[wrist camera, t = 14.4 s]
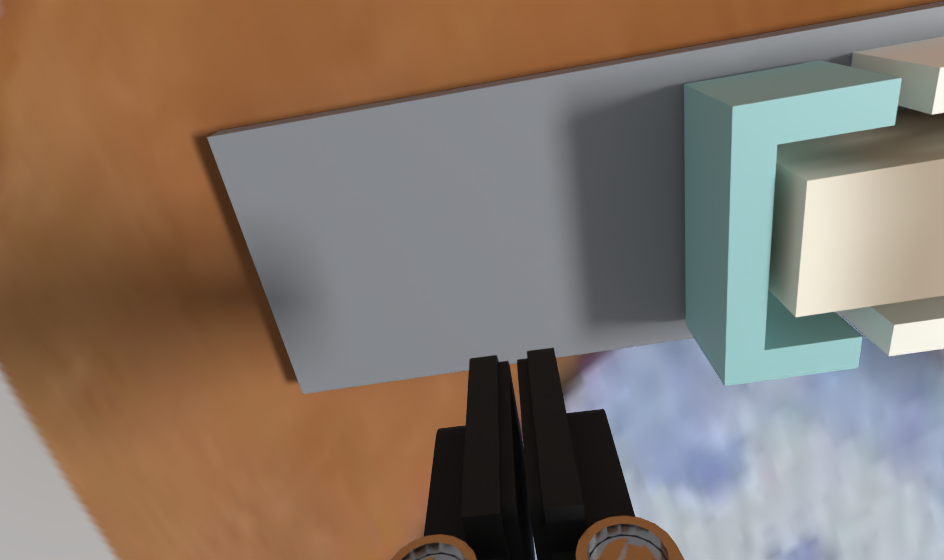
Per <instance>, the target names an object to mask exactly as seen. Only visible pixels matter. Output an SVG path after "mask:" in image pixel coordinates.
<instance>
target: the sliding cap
mask: <svg viewBox="0 0 944 560" xmlns="http://www.w3.org/2000/svg"><path fill="white" fill-rule="evenodd" d="M901 81H902V78H901V77H896V76H892V75H887V74H882V73H878V72H873V71H868V70H864V69H859V68H854V67H850V66H845V65H840V64H836V63H831V62H826V61H822V60H820V61H814V62H808V63H802V64H797V65H791V66H785V67H779V68H774V69H768V70H762V71H756V72H751V73H745V74H739V75H734V76H728V77H722V78H716V79H711V80H705V81H699V82H693V83H688V84H684V155H685V280H686V326H687V328H688V329H689V331H690V332H691V334H692V335H693V337H694V339H695V340H696V342H697V343H698V345H699V346H700V348H701V350H702V351H703V353H704V354H705V356H706V357H707V359H708V361H709V362H710V364H711V365H712V367H713V368H714V370H715V372H716V373H717V375H718V376H719V378H720V379H721V381H722V383H723V384H724V386H729V385H736V384H744V383H751V382H758V381H766V380H773V379H780V378H788V377H795V376H802V375H810V374H817V373H824V372H832V371H839V370H846V369H854V368H858V364H859V358H860V351H861V345H862V338H863V336H862V335H860V334H859V333H858V332H857V331H856V330H855V329H854V328H853V327H852V326H850V325H849V324H848V323H847V322H846V321H845V320H844V319H843V318H841V317H840V316H839V315H838V314H837V313H836V312H828V313H822V314H815V315H808V316H801V317H795V316H794V315H793V314H792V313H791V312H790V311H789V310H788V309H787V308H786V307H785V306H784V305H783V304H782V303H781V302H780V301H779V300H778V299H777V298H776V297H775V296H774V295H773V294H772V293H771V292H770V291H769V290H768V284H769V268H770V253H771V237H772V221H773V206H774V190H775V174H776V158H777V145H778V144H784V143H790V142H796V141H802V140H808V139H814V138H820V137H826V136H832V135H838V134H844V133H850V132H856V131H862V130H868V129H875V128H881V127H887V126H893V125H895V121H896V114H897V107H898V101H899V94H900V88H901Z"/></svg>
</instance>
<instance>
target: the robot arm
mask: <svg viewBox="0 0 944 560" xmlns="http://www.w3.org/2000/svg"><path fill="white" fill-rule="evenodd" d="M517 368H518V380H519V393H520V406H521V419H522V431H523V442H522V436H521V430H520V424H519V418H518V412H517V406H516V400H515V395H514V389H513V383H512V377H511V371H510V365H509V361H502V362H499V361H498V357H497V355H492V356H484V357H477V358H470V361H469V378H468V396H467V414H466V426H457V427H449V428H441V429H438V431H437V434H436V441H435V449H434V457H433V466H432V474H431V482H430V490H429V498H428V507H427V515H426V523H425V531H424V537H422V538H419V539H417V540H414V541H412V542H410V543H409V544H407V545H406V546H404V547H403V548H401V549H400V550H399V551H398V552H397V553H396V555H395V556H394V557H393V558H392V559H391V560H535V553H534V543H535V549H536V554H537V560H684V558H683V556H682V554H681V553H680V551H679V549H678V547H677V545H676V544H675V542H674V541H673V540H672V538H671V537H670V536H669V535H668V533H667V532H665V531H664V530H663V529H661V528H660V527H659V526H657V525H656V524H654V523H652V522H649V521H647V520H644V519H642V518H638V517H635V514H634V511H633V507H632V504H631V500H630V497H629V493H628V490H627V486H626V483H625V479H624V476H623V472H622V469H621V465H620V462H619V458H618V455H617V451H616V448H615V444H614V441H613V437H612V434H611V430H610V427H609V423H608V420H607V416H606V413H605V411H604V409H600V410H591V411H583V412H574V413H566V409H565V404H564V399H563V393H562V388H561V383H560V377H559V372H558V367H557V362H556V356H555V351H554V347H553V348H546V349H538V350H530V351H527V358H526V359H518V360H517ZM523 444H524V448H523ZM533 537H534V541H533Z"/></svg>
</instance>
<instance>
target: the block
mask: <svg viewBox="0 0 944 560" xmlns="http://www.w3.org/2000/svg"><path fill="white" fill-rule="evenodd" d="M768 290H769V291H770V292H771V293H772V294H773V295H774V296H775V297H776V298H777V299H778V300H779V301H780V302H781V303H782V304H783V305H784V306H785V307H786V308H787V309H788V310H789V311H790V312H791V313H792V314H793V315H794V316H795V317H801V316H808V315H815V314H822V313H828V312H835V311H842V310H849V309H856V308H863V307H869V306H876V305H883V304H890V303H897V302H904V301H910V300H917V299H924V298H931V297H938V296H944V113H939V114H933V115H931V114H927V113H924V112H920V111H917V110H913V109H910V108H909V109H903V110H897V114H896V121H895V125H893V126H887V127H881V128H875V129H868V130H862V131H856V132H850V133H844V134H838V135H832V136H826V137H820V138H814V139H808V140H802V141H796V142H790V143H784V144H778V145H777V158H776V174H775V190H774V206H773V221H772V237H771V253H770V268H769V284H768Z"/></svg>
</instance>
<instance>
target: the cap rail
mask: <svg viewBox="0 0 944 560" xmlns="http://www.w3.org/2000/svg"><path fill="white" fill-rule="evenodd" d="M820 60H822V61H826V62H831V63H836V64H840V65H845V66H850V67H854V68H859V69H864V70H868V71H873V72H878V73H882V74H887V75H892V76H896V77H901V78H902V81H901V88H900V94H899V101H898V107H897V110H903V109H909V108H910V109H913V110H917V111H920V112H924V113H927V114H931V115H933V114H939V113H944V1H942V2H936V3H931V4H925V5H919V6H914V7H908V8H903V9H897V10H892V11H886V12H880V13H875V14H869V15H864V16H858V17H852V18H847V19H841V20H836V21H830V22H824V23H819V24H813V25H808V26H802V27H796V28H791V29H785V30H780V31H774V32H769V33H763V34H757V35H752V36H746V37H741V38H735V39H729V40H724V41H718V42H713V43H707V44H701V45H696V46H690V47H685V48H679V49H673V50H668V51H662V52H657V53H651V54H646V55H640V56H634V57H629V58H623V59H618V60H612V61H606V62H601V63H595V64H590V65H584V66H578V67H573V68H567V69H562V70H556V71H551V72H545V73H539V74H534V75H528V76H523V77H517V78H511V79H506V80H500V81H495V82H489V83H483V84H478V85H472V86H467V87H461V88H455V89H450V90H444V91H439V92H433V93H428V94H422V95H416V96H411V97H405V98H400V99H394V100H388V101H383V102H377V103H372V104H366V105H360V106H355V107H349V108H344V109H338V110H332V111H327V112H321V113H316V114H310V115H305V116H299V117H293V118H288V119H282V120H277V121H271V122H265V123H260V124H254V125H249V126H243V127H237V128H232V129H226V130H221V131H217V132H215V133H214V134H212V135H210V136H208V137H207V139H208V142H209V144H210V147H211V150H212V152H213V155H214V158H215V160H216V163H217V166H218V168H219V171H220V174H221V176H222V179H223V182H224V184H225V187H226V190H227V192H228V195H229V198H230V200H231V203H232V206H233V208H234V211H235V214H236V216H237V219H238V222H239V224H240V227H241V230H242V233H243V235H244V238H245V241H246V243H247V246H248V249H249V251H250V254H251V257H252V259H253V262H254V265H255V267H256V270H257V273H258V275H259V278H260V281H261V283H262V286H263V289H264V291H265V294H266V297H267V299H268V302H269V305H270V307H271V310H272V313H273V315H274V318H275V321H276V324H277V326H278V329H279V332H280V334H281V337H282V340H283V342H284V345H285V348H286V350H287V353H288V356H289V358H290V361H291V364H292V366H293V369H294V372H295V374H296V377H297V380H298V382H299V385H300V388H301V390H302V393H303V394H306V393H313V392H320V391H327V390H334V389H341V388H348V387H355V386H362V385H369V384H376V383H383V382H390V381H397V380H404V379H411V378H418V377H425V376H432V375H439V374H446V373H453V372H460V371H467V370H469V361H470V358H477V357H484V356H492V355H497V357H498V361H499V362H502V361H509V364H516V363H517V360H518V359H526V358H527V351H530V350H538V349H546V348H553V347H554V351H555V356H556V358H557V357H564V356H571V355H578V354H585V353H592V352H599V351H606V350H613V349H620V348H627V347H634V346H641V345H648V344H655V343H662V342H669V341H676V340H683V339H690V338H694V337H693V335H692V334H691V332H690V331H689V329H688V328H687V326H686V280H685V155H684V84H688V83H693V82H699V81H705V80H711V79H716V78H722V77H728V76H734V75H739V74H745V73H751V72H756V71H762V70H768V69H774V68H779V67H785V66H791V65H797V64H802V63H808V62H814V61H820ZM835 312H836V313H837V314H838V315H839V316H840V317H845V318H846V319H847V320H848V321H849V322H850V323H852V324H853V325H854V326H855V327H856V328H857V329H858V330H860V331H861V332H862V333H863V334H864V335H865V336H866V337H867V338H869V339H870V340H871V341H872V342H873V343H874V344H875V345H876V346H878V347H879V348H880V349H881V350H882V351H883V352H884V353H885V354H887V355H888V356H895V355H902V354H909V353H916V352H924V351H931V350H938V349H944V296H938V297H931V298H924V299H917V300H910V301H904V302H897V303H890V304H883V305H876V306H869V307H863V308H856V309H849V310H842V311H835Z"/></svg>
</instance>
